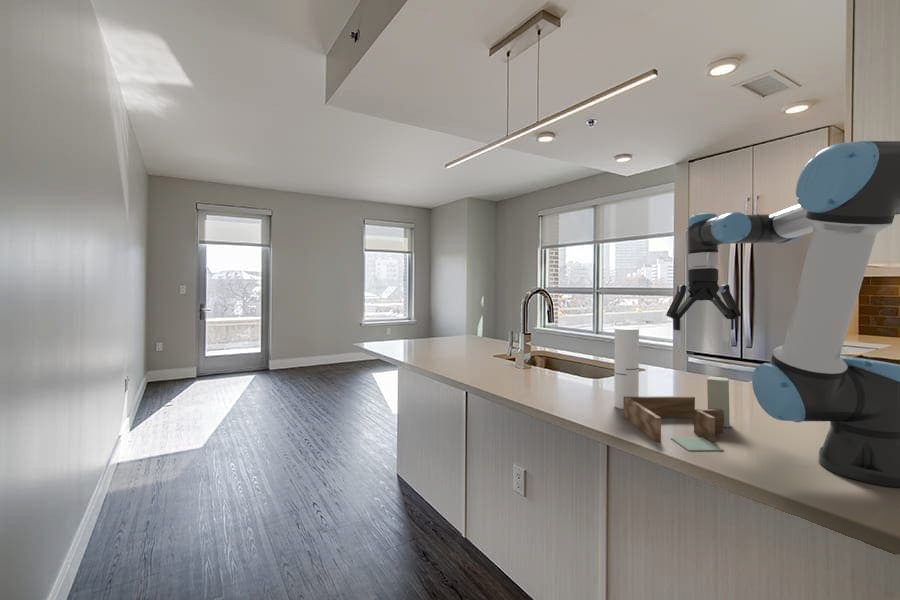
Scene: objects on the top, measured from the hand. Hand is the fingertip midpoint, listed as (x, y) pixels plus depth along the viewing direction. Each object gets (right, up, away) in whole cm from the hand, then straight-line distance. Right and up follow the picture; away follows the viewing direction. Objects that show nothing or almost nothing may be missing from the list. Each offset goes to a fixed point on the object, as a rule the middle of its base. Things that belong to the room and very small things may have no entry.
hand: (703, 341), depth 123 cm
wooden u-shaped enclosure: (-12, -23, -9) cm, 27 cm away
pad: (-14, -23, -21) cm, 34 cm away
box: (+1, -23, -6) cm, 23 cm away
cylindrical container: (-17, -22, +13) cm, 31 cm away
